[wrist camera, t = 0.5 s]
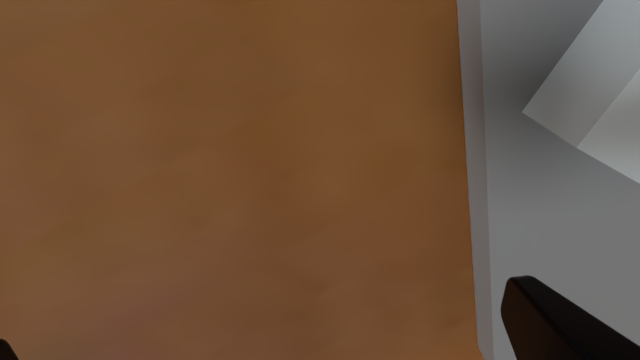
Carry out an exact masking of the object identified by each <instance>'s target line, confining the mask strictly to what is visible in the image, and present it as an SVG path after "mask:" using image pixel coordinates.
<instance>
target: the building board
mask: <svg viewBox="0 0 640 360" xmlns="http://www.w3.org/2000/svg"><path fill="white" fill-rule="evenodd" d="M602 2H603V0H457V14H458V30H459V47H460V63H461V79H462V96H463V112H464V128H465V145H466V161H467V177H468V194H469V210H470V227H471V243H472V259H473V276H474V292H475V308H476V325H477V341H478V348H479V349H480V351H481V353H482V355H483V357H484V359H485V360H517V359H516V356H515V354H514V351H513V348H512V346H511V343H510V340H509V337H508V335H507V332H506V329H505V327H504V324H503V321H502V318H501V312H500V310H501V303H502V299H503V294H504V290H505V286H506V282H507V280H508V279H509V278H511V277H516V276H524V275H530V276H533V277H535V278H537V279H538V280H540V281H541V282H543V283H544V284H546V285H547V286H549V287H550V288H552V289H553V290H555V291H556V292H558V293H560V294H561V295H563V296H564V297H566V298H567V299H569V300H570V301H572V302H573V303H575V304H576V305H578V306H579V307H581V308H582V309H584V310H585V311H587V312H589V313H590V314H592V315H593V316H595V317H596V318H598V319H599V320H601V321H602V322H604V323H605V324H607V325H608V326H610V327H611V328H613V329H614V330H616V331H618V332H619V333H621V334H622V335H624V336H625V337H627V338H628V339H630V340H631V341H633V342H634V343H636V344H637V345H640V184H639V183H638V182H636V181H634V180H632V179H631V178H629V177H627V176H625V175H623V174H622V173H620V172H618V171H616V170H615V169H613V168H611V167H609V166H608V165H606V164H604V163H602V162H600V161H599V160H597V159H595V158H593V157H592V156H590V155H588V154H586V153H585V152H583V151H581V150H579V149H577V148H576V147H574V146H573V145H571V144H570V143H568V142H567V141H565V140H564V139H562V138H560V137H559V136H557V135H556V134H554V133H553V132H551V131H550V130H548V129H547V128H545V127H544V126H542V125H541V124H539V123H538V122H536V121H534V120H533V119H531V118H530V117H528V116H527V115H525V114H524V113H522V111H523V110H524V108H525V107H526V106H527V104H528V103H529V101H530V100H531V99H532V97H533V96H534V95H535V93H536V92H537V90H538V89H539V88H540V86H541V85H542V84H543V82H544V81H545V80H546V78H547V77H548V75H549V74H550V73H551V71H552V70H553V69H554V67H555V66H556V64H557V63H558V62H559V60H560V59H561V58H562V56H563V55H564V54H565V52H566V51H567V49H568V48H569V47H570V45H571V44H572V43H573V41H574V40H575V39H576V37H577V36H578V34H579V33H580V32H581V30H582V29H583V28H584V26H585V25H586V23H587V22H588V21H589V19H590V18H591V17H592V15H593V14H594V13H595V11H596V10H597V8H598V7H599V6H600V4H601V3H602Z"/></svg>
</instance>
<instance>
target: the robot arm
mask: <svg viewBox="0 0 640 360" xmlns="http://www.w3.org/2000/svg"><path fill="white" fill-rule="evenodd" d="M500 312H501V318H502V321H503V324H504V327H505V329H506V332H507V335H508V337H509V340H510V343H511V346H512V348H513V351H514V354H515V356H516V359H517V360H640V346H639V345H637V344H636V343H634V342H633V341H631V340H630V339H628V338H627V337H625V336H624V335H622V334H621V333H619V332H618V331H616V330H614V329H613V328H611V327H610V326H608V325H607V324H605V323H604V322H602V321H601V320H599V319H598V318H596V317H595V316H593V315H592V314H590V313H589V312H587V311H585V310H584V309H582V308H581V307H579V306H578V305H576V304H575V303H573V302H572V301H570V300H569V299H567V298H566V297H564V296H563V295H561V294H560V293H558V292H556V291H555V290H553V289H552V288H550V287H549V286H547V285H546V284H544V283H543V282H541V281H540V280H538V279H537V278H535V277H533V276H530V275H524V276H516V277H511V278H509V279H508V280H507V282H506V286H505V290H504V294H503V299H502V303H501V310H500ZM0 360H19V359H18V357H17V356H16V354H15V353H14V351H13V350H12V348H11V347H10V345H9V343H8V342H7V341H5V340H3V339H0Z"/></svg>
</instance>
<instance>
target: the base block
mask: <svg viewBox="0 0 640 360" xmlns="http://www.w3.org/2000/svg"><path fill="white" fill-rule="evenodd" d="M522 113H524V114H525V115H527V116H528V117H530V118H531V119H533V120H534V121H536V122H538V123H539V124H541V125H542V126H544V127H545V128H547V129H548V130H550V131H551V132H553V133H554V134H556V135H557V136H559V137H560V138H562V139H564V140H565V141H567V142H568V143H570V144H571V145H573V146H574V147H576V148H577V149H579V150H581V151H583V152H585V153H586V154H588V155H590V156H592V157H593V158H595V159H597V160H599V161H600V162H602V163H604V164H606V165H608V166H609V167H611V168H613V169H615V170H616V171H618V172H620V173H622V174H623V175H625V176H627V177H629V178H631V179H632V180H634V181H636V182H638V183H639V184H640V0H603V2H602V3H601V4H600V6H599V7H598V8H597V10H596V11H595V13H594V14H593V15H592V17H591V18H590V19H589V21H588V22H587V23H586V25H585V26H584V28H583V29H582V30H581V32H580V33H579V34H578V36H577V37H576V39H575V40H574V41H573V43H572V44H571V45H570V47H569V48H568V49H567V51H566V52H565V54H564V55H563V56H562V58H561V59H560V60H559V62H558V63H557V64H556V66H555V67H554V69H553V70H552V71H551V73H550V74H549V75H548V77H547V78H546V80H545V81H544V82H543V84H542V85H541V86H540V88H539V89H538V90H537V92H536V93H535V95H534V96H533V97H532V99H531V100H530V101H529V103H528V104H527V106H526V107H525V108H524V110H523V111H522Z"/></svg>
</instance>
